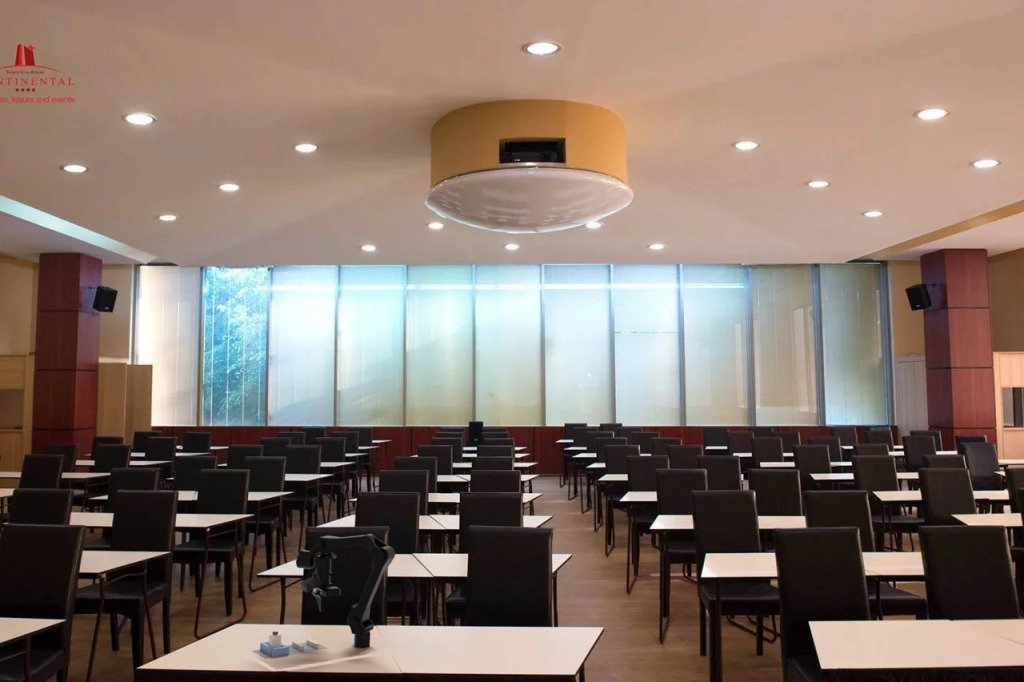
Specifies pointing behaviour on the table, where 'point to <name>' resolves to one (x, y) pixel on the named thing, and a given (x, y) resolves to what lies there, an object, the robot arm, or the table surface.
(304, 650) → the board
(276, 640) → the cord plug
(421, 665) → the table surface
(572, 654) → the table surface
